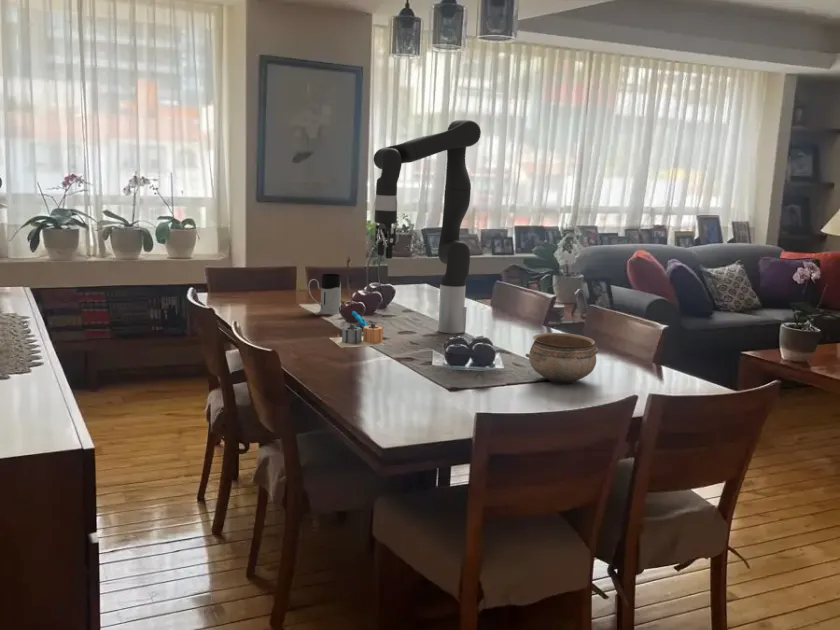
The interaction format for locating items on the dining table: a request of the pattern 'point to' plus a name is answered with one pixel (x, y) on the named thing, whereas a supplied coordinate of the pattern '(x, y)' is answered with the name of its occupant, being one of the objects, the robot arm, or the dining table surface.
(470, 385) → the dining table surface
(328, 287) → the white and black mug
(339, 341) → the peg board
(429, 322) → the dining table surface
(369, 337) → the gear
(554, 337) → the cooking pot
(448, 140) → the robot arm
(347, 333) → the gear
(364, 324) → the blue sprocket wheel
